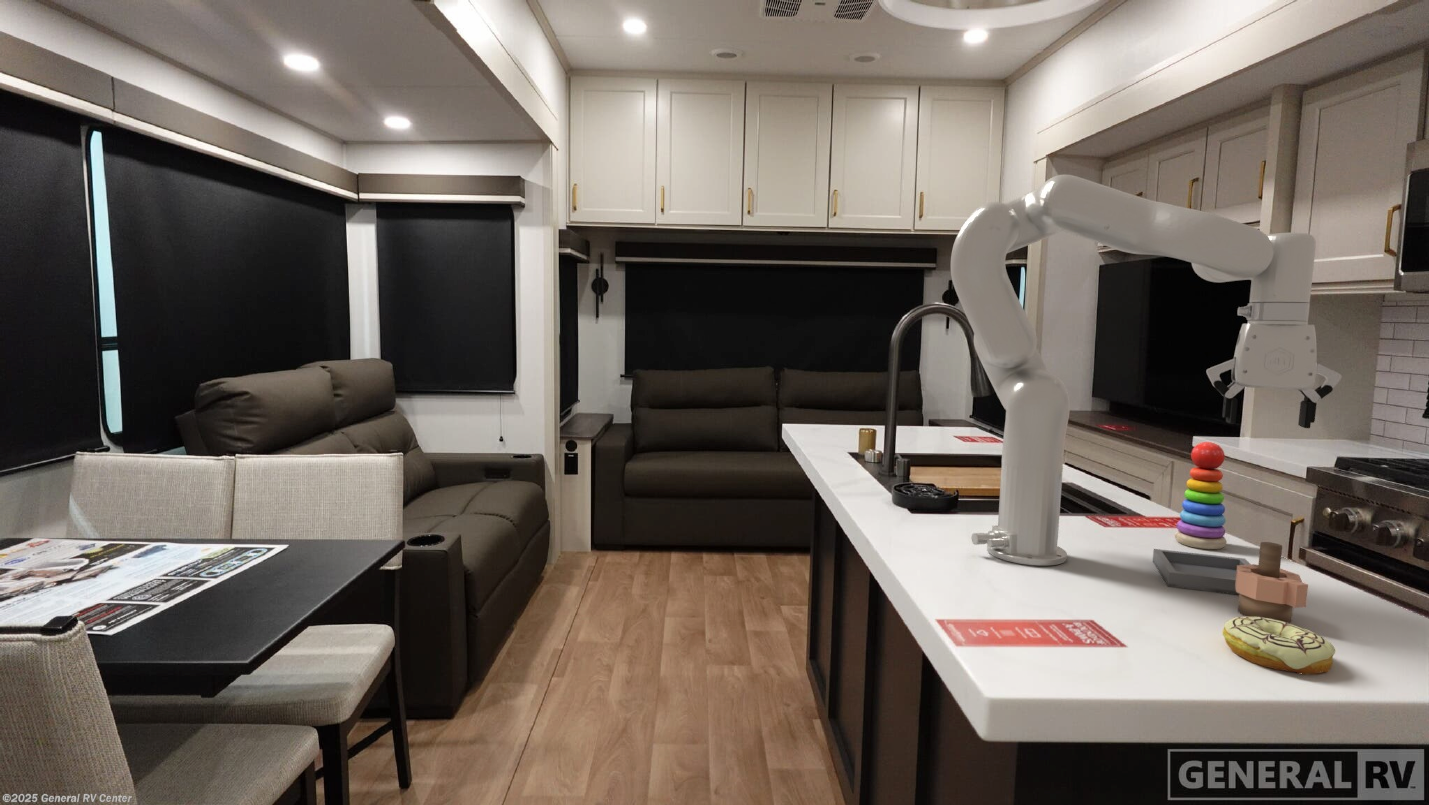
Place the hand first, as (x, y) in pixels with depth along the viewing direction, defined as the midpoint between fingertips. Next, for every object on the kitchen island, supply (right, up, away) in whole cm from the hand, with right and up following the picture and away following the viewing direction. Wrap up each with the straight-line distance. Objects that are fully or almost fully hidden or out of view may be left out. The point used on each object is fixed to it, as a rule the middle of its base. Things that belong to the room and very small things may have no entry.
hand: (1266, 424), depth 120 cm
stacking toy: (+2, -23, +19) cm, 30 cm away
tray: (-9, -24, 0) cm, 26 cm away
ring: (-11, -23, -15) cm, 29 cm away
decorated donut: (-19, -28, -28) cm, 43 cm away
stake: (-11, -26, -14) cm, 31 cm away
